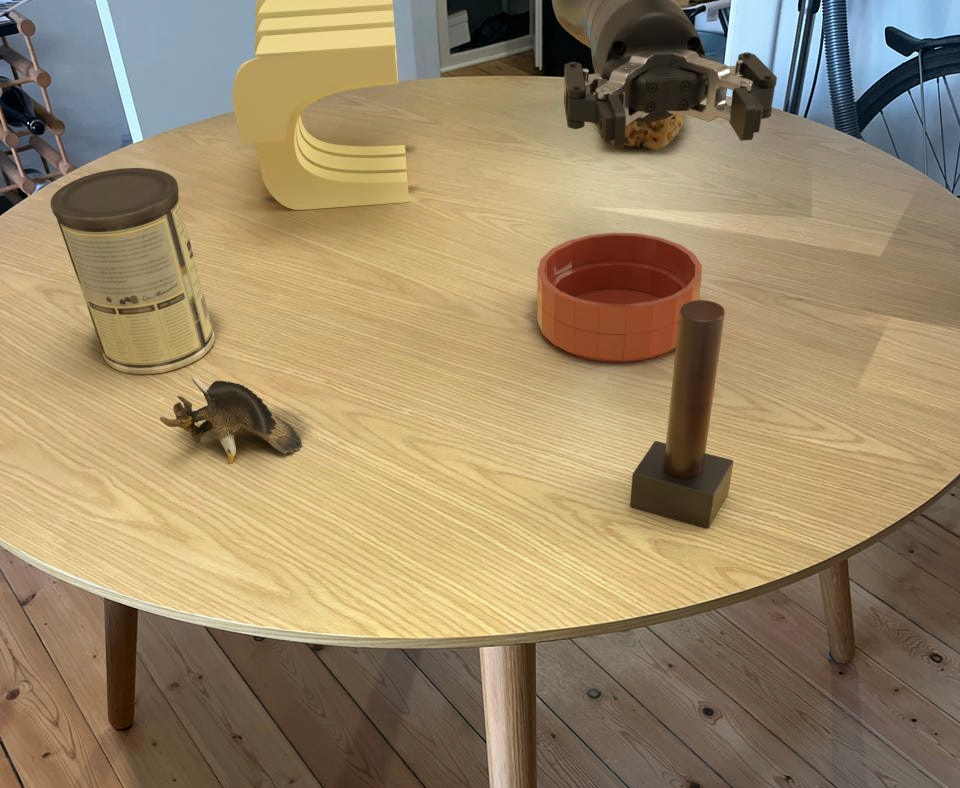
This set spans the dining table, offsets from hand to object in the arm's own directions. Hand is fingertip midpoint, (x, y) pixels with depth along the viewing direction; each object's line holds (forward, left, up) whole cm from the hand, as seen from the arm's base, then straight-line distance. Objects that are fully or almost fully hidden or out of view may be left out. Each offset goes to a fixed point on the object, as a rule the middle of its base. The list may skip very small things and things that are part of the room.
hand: (685, 128), depth 67 cm
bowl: (+9, -13, -22) cm, 27 cm away
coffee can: (+46, +7, -22) cm, 51 cm away
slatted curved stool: (+51, -31, -22) cm, 63 cm away
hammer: (-5, +9, -22) cm, 25 cm away
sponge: (+26, -61, -22) cm, 70 cm away
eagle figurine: (+29, +17, -22) cm, 40 cm away
